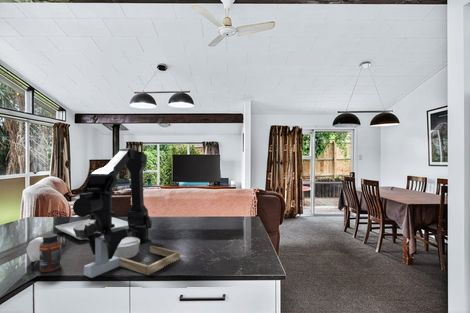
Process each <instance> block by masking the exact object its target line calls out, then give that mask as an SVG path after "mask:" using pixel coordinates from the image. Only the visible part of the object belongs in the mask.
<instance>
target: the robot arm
mask: <svg viewBox="0 0 470 313" xmlns="http://www.w3.org/2000/svg"><path fill="white" fill-rule="evenodd" d="M147 161H148V157H147V154H146V153H145V152H144V151H139V150H135V149H133V148H129V147H128V148H125V147H123V148H119V149H118V151H117V153H116V154H115V155H114V156H113V157H112V159H110V161H109V162H108V163H106V165H105V166H104V167H100V168H98V169H96V170H94V171H93V172H91V173H90V175H89V176H88V179H87V181H86V183H85V186H84V187H83V190H82V192H81V193H79V197H78V198H77V199H76V200H75V201H74V203H73V204H72V210H73V211H72V212H73V213H74V214H75V216H77V217H79V218H84V217H85V218H86V217H88V220H87V219H85V220H86V221H84V222H82V223H80V224H79V225H77V226H75V227H74V228H73V230H74V232H75V235H76V237H79V238H81V239H83V240H87V241H88V244H89V247H90V250H91V254H92V255H93V256H95V238H98V237H101V234H104V235H103V236H104V239H105V240H104V241H103V242H104V243H105V244H106V245H107V254H108V259H109V260H110V259H112V257H113V255H114V253H115V251H116V249H117V247H118V245H119V244H120V242H121V240H122V239H124V238H126V237H129V230H130V229H131V231H132V232H131V237H135V238H139V239H140V244H139V245H142V244H145V243H147V242H150V241H152V239H151V238H149V229H151V228H152V226H153V220H152V219H151V217H150V215H149V211H148V210H149V209H147V207H146V206H145V201H144V198H145V197H144V181H143V180H144V179H143V178H144V177H143V176H144V175H143V172H144V171H145V169H146V167H147ZM124 167H126V169H127V170H128V172H129V173H130V192H131V193H130V195H131V197H130V198H131V207H130V209H129V211H127V222H128V226H129V229H125V228H120V227H118V228H114V229H111V228H113V227H115V224H112V217H113V216H115V211H113V207H112V206H113V205H112V204H113V203H112V202H113V200H112V198H113V195H115V191H114V190H113V188H114V187H115V186H116V184H117V182H118V175H119V174H120V172H121V171H122V170H123V168H124ZM85 238H86V239H85Z"/></svg>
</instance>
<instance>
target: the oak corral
mask: <svg viewBox="0 0 470 313" xmlns="http://www.w3.org/2000/svg"><path fill="white" fill-rule="evenodd" d="M149 253H150V254H154V255H158V256H161V255H162V256H163V257H164V258H161V259H159V260H157V261H155V262H153V263H151V264H149V265H148V264H144V263H140V262H137V261H134V260H131V259H129V258H128V259H125V258H119V266H118V267H121V268H125V269H128V270H131V271H134V272H138V273H140V274H144V275H146V276H149V275H151V274H154V273H155V272H157V271H160V270H161V269H164V268H165V267H167V266H169V265H170V263H171V264H172V262H173V263H175V262H177V261H179V260H180V259H181V256H180V255H181V253H180V251H177V250H172V249H169V248H164V247H160V246H156V245H150V246H149ZM165 256H166V257H165ZM176 260H177V261H176ZM174 261H175V262H174ZM168 264H169V265H168ZM166 265H167V266H166ZM164 266H165V267H164Z"/></svg>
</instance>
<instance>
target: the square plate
mask: <svg viewBox="0 0 470 313" xmlns="http://www.w3.org/2000/svg"><path fill="white" fill-rule="evenodd" d="M88 219H89V218H88ZM88 219H82V220H77V221H73V222H68V223H64V224H63V223H62V224H58V225H54V227H55V228H56V229H57V230H59V231H61V232H62V233H65V234H68V235H70V236H72V237H74V238H76V239H77V240H80V241H81V240H82V241H84V240H87V239H86V238H85V239H81V238H79V237H76V235H75V232H74V230H73V228H74V227H75V226H77V225H79V224H80V223H82V222H84V221H86V220H88ZM112 224H115V227H113V228H111V229H114V228H118V227H120V228H125V229H126V230H130V229H129V226H128V221H126V220H123V219H120V218H116V217H113V216H112ZM101 236H104V234H101Z"/></svg>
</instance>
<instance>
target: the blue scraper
mask: <svg viewBox="0 0 470 313" xmlns="http://www.w3.org/2000/svg"><path fill="white" fill-rule="evenodd" d="M104 240H105V239H104V235H103V236H101V237H98V238H95V255H94V256H95V261H93V262H91V263H88V264H85V265H83V275H84V276H86V277H88V278H91V279H93V278H95V277H97V276H99V275H102V274H104V273H107V272H109V271H111V270H114V269H116V268H118V267H120V266H119V257H116V256H113V257H112V259H110V260H109V259H108V254H107V245H106V244H105V243H104V242H103V241H104Z"/></svg>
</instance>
